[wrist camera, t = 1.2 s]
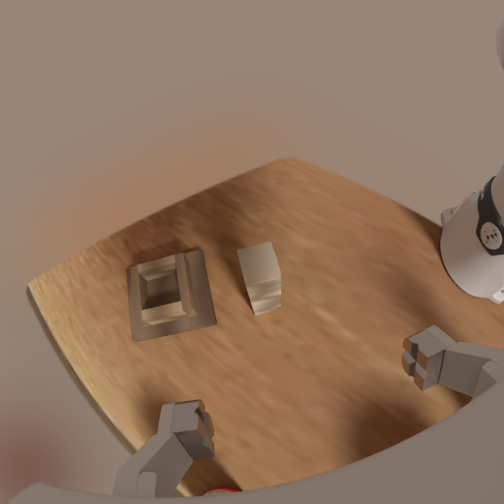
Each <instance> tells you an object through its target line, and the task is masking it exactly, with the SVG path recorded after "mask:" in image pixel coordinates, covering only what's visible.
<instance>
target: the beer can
mask: <svg viewBox="0 0 504 504" xmlns="http://www.w3.org/2000/svg"><path fill="white" fill-rule="evenodd" d="M234 492H239V491H237V490H235V489H233V488H228V487H216V488H213V489H210V490H209V491H207V492H206V493H204V494H203V496H207V495H217V494H226V493H234Z"/></svg>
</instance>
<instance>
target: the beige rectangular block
mask: <svg viewBox="0 0 504 504" xmlns="http://www.w3.org/2000/svg"><path fill="white" fill-rule="evenodd" d="M237 253H238V257H239V261H240V265H241V269H242V273H243V277H244V281H245V284H246V288H247V291H248V294H249V297H250V301H251V304H252V307H253V310H254V314H255V315H259V314H262V313H266V312H270V311H274V310H277V309H281V271H280V268H279V264H278V261H277V258H276V255H275V252H274V249H273V246H272V242H271V241H268V242H265V243H261V244H257V245H253V246H249V247H245V248H242V249H238V250H237Z"/></svg>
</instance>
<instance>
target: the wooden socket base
mask: <svg viewBox="0 0 504 504" xmlns="http://www.w3.org/2000/svg"><path fill="white" fill-rule="evenodd" d="M127 283H128V299H129V311H130V322H131V332H132V340H134V341H136V342H137V341H142V340H148V339H153V338H158V337H162V336H167V335H172V334H177V333H181V332H186V331H190V330H195V329H199V328H204V327H208V326H212V325H216V324H217V320H216V316H215V311H214V306H213V301H212V296H211V291H210V286H209V281H208V276H207V271H206V266H205V261H204V255H203V252H202V250H201V249H200V250H196V251H192V252H188V253H185V254H184V253H183V252H182V253H179V254H175V255H171V256H167V257H164V258H160V259H157V260H153V261H149V262H146V263H142V264H138V265H135V266H131V267H130V269H127Z"/></svg>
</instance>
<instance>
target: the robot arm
mask: <svg viewBox="0 0 504 504" xmlns="http://www.w3.org/2000/svg"><path fill="white" fill-rule="evenodd" d="M496 42H497V43H496V44H497V52H498V57H499V60H500V63H501V66H502V69H503V71H504V18H503V20H502V21H501V23H500V25H499V28H498V31H497V38H496ZM441 221H442V226H443V230H442V235H441V241H440V249H441V255H442V259H443V262H444V265H445V267H446V269H447V271H448V273H449V275H450V276H451V278H452V279H453V280H454V282H455V283H456V284H457V285H458V286H459V287H460V288H461V289H462V290H464V291H465V292H467V293H468V294H470V295H473V296H476V297H485V298H488V299H490V300H491V301H493V302H495V303H497V304H500V303H501V302H502V301H503V300H504V164H503V166H502V167H501V169H500V171H499V172H498V174H497V175H496V176H494V177H492V178H491V179H490V181H489V182H488V183H486V185H485V186H484V187H483V189H482V190H481V191H479V192H478V193H475V192H474V193H472V194H469V195H467V196H466V198H465V199H464V200H463V201H462V203H461V204H460V205H459V206H458V207H455V208H451V209H447V210H445V211H444V212H443V213H442V214H441ZM403 348H404V349H405V351H404V353H403V355H402V364H403V368H404V370H405V372H406V373H407V374H408V375H409V376H412V377H414V383H415V384H416V385H417V386H418V387H419V388H420V390H421V391H423V390H425V389H427V388H429V387H431V386H433V385H435V384H437V383H438V384H440V385H442V386H445V387H448V388H450V389H453V390H455V391H458V392H460V393H463V394H466V395H468V396H471V397H472V399H471V402H469V403H468V404H466V405H465V406H463V407H462V408H460V409H459V410H457V411H456V412H454V413H453V414H451V415H449V416H448V417H446V418H444V419H443V420H441V421H439V422H438V423H436V424H434V425H432V426H431V427H429V428H427V429H425V430H423V431H422V432H420V433H418V434H416V435H414V436H412V437H410V438H408V439H406V440H404V441H402V442H400V443H398V444H396V445H394V446H392V447H389V448H387V449H385V450H383V451H380V452H378V453H376V454H373V455H371V456H369V457H366V458H364V459H361V460H358V461H356V462H353V463H350V464H348V465H345V466H342V467H339V468H336V469H333V470H330V471H327V472H324V473H321V474H317V475H314V476H310V477H307V478H303V479H299V480H295V481H291V482H287V483H283V484H279V485H274V486H269V487H264V488H259V489H253V490H247V491H241V492H234V493H226V494H217V495H207V496H193V497H178V496H177V495H176V494H175V493H174V492H173V491H174V490H175V488H176V487H177V485H178V484H179V482H180V481H181V479H182V478H183V476H184V475H185V473H186V472H187V470H188V469H189V467H190V466H191V464H192V463H193V460H195V459H202V458H209V457H215V456H214V442H213V441H212V439H211V438H212V437H213V436H214V428H213V423H212V420H211V417H210V415H209V413H207V412H205V405H204V403H203V402H202V400H200V399H199V400H192V401H184V402H176V403H170V404H164V405H163V406H162V408H161V414H160V419H159V425H158V431H157V435H153V436H152V437H151V438H150V439H149V440H148V441H147V442H146V443H145V444H144V445H143V446H142V447H141V448H140V449H139V450H138V451H137V452H136V453H135V454H134V455H133V456H132V457H131V458H130V459H129V460H128V461H127V462H126V463H125V464H124V465H123V466H122V467H121V468H120V469H119V470H118V472H117V476H116V480H115V485H114V489H113V494H112V495H107V494H99V493H92V492H85V491H79V490H72V489H68V488H63V487H58V486H54V485H50V484H46V483H41V482H37V483H34V484H32V485H30V486H28V487H27V488H25V489H24V490H23V491H21V492H20V493H18V494H17V495H15V496H14V497H13V498H12V499H10V501H9V502H8V504H504V349H500V348H494V347H488V346H482V345H477V344H471V343H466V342H460V341H459V342H455V341H454V340H453V339H452V338H451V337H449V336H448V335H447V334H446V333H444V332H443V331H442V330H441V329H440V328H438V327H437V326H435V325H432V326H430V327H428V328H426V329H424V330H422V331H420V332H418V333H416V334H414V335H412V336H409V337H407V338H405V339H404V341H403Z"/></svg>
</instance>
